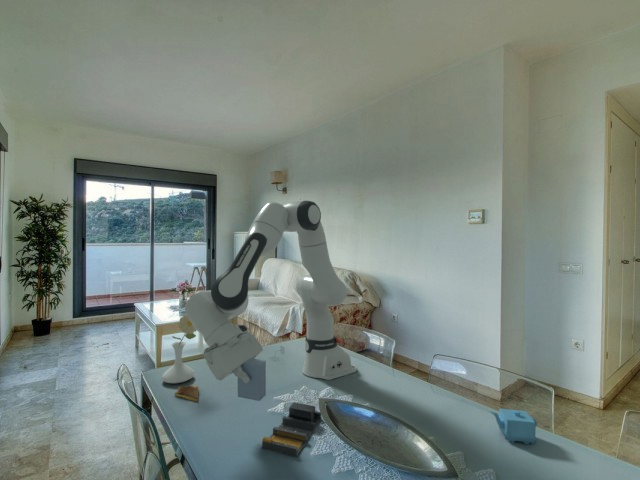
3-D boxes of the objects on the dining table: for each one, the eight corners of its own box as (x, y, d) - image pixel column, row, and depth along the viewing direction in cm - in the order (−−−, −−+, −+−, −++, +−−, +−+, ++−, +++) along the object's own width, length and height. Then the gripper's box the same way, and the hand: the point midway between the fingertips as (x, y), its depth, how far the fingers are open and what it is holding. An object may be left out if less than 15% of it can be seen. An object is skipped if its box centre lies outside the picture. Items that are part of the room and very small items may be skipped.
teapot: (492, 441, 93) (493, 414, 92) (486, 429, 98) (487, 403, 98) (541, 447, 90) (542, 419, 90) (531, 434, 96) (532, 408, 96)
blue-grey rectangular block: (237, 396, 95) (237, 361, 95) (244, 391, 99) (244, 357, 99) (259, 401, 93) (259, 365, 93) (265, 395, 96) (265, 360, 96)
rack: (261, 448, 88) (261, 431, 88) (291, 412, 106) (291, 398, 106) (296, 457, 85) (296, 439, 84) (321, 418, 102) (321, 404, 102)
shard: (198, 403, 112) (198, 398, 112) (173, 407, 109) (173, 401, 109) (198, 389, 122) (198, 384, 122) (175, 392, 119) (175, 387, 119)
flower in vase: (162, 388, 121) (163, 319, 120) (161, 376, 131) (161, 312, 130) (200, 382, 127) (201, 315, 126) (196, 371, 137) (197, 309, 136)
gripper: (207, 343, 88) (239, 386, 85) (249, 323, 107) (276, 358, 104) (193, 358, 90) (225, 401, 87) (237, 336, 109) (264, 370, 106)
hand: (253, 377), depth 96 cm, fingers closed on blue-grey rectangular block, 3 cm apart
